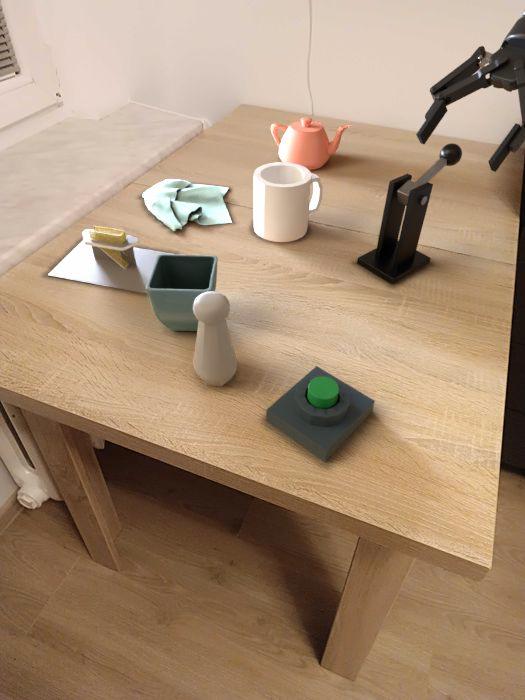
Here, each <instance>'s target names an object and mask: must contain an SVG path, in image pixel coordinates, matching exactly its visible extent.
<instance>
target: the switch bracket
mask: <svg viewBox="0 0 525 700" xmlns="http://www.w3.org/2000/svg"><path fill="white" fill-rule="evenodd" d="M412 179H413V175H412V174H410V173H405V174H403V175H400V176H398V177H396V178H393V179H391V180H389V181H388V187H387V191H386V197H385V202H384V208H383V214H382V218H381V223H380V229H379V234H378V239H377V243H376V248H375V249H372V250H370V251H368V252H366V253H364V254H362V255H360V256H358V257H357V259H356V264H357V265H358V266H360V267H362V268H363V269H365V270H367V271H369V272H370V273H371V274H373V275H375V276H377V277H379V278H380V279H381V280H384V281H385V282H387V283H389V285H394V284H396V283H398V282H400V281H402V280H403V279H405V278H406V277H408V276H410V275H412V274H413V273H416V272H417V271H418V270H420V269H422V268H424V267H426V266H428V265H429V264H430V263H431V260H432V258H431V257H430V256H428V255H427V254H424V253H422V252H421V251H420V250H417V249H418V245H419V242H420V237H421V233H422V229H423V226H424V222H425V219H426V214H427V211H428V207H429V202H430V199H431V196H432V190H433V187H434V184H433V183H431V182H430V181H429V182H427V183H425V184H423V185H421V186H419V187H416V188H414V189H412V190H410V193H409V198H408V202H407V206H405V205H403V204H401V203H399V202H398V196H397V190H398V189H399V188H401V187H402V186H403V185H404V184H405V183H406V182H407V181H408V180H411V181H412Z"/></svg>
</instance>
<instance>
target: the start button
mask: <svg viewBox="0 0 525 700" xmlns="http://www.w3.org/2000/svg"><path fill="white" fill-rule="evenodd" d="M338 393H339V386H338V384H337V383H336V382H335V381H334V380H333V379H331V378H328V377H316V378H314V379H313V380H311V381H310V383H309V385H308V394H307V397H308V400H309V402H310V403H311V404H312V405H313V406H315V407H317V408H322V409H325V408H330V407H332V406H334V405H335V404H336V402H337V399H338Z"/></svg>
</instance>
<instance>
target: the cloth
mask: <svg viewBox="0 0 525 700" xmlns="http://www.w3.org/2000/svg"><path fill="white" fill-rule="evenodd" d="M229 189H230V187H226V186H220V185H219V186H218V185H211V184H210V185H208V184H201V183H192V182H191V181H190V180H189V181H188V180H184V179H180V178H179V179H175V178H167V179H165V180H163V181H160V182H158V183H156V184H154V185H152V186H150V187H149V188H148V189H146V190H145V191H144V192H143V193H142V195H141V198H144V204H145V206H146V208H147V210H148V211H149V212H150V213H151V215H153V216H154V217H155V218H156V219H157V220H158V221H160V222H161V223H162V224H163V225H164V226H166V227H168V228H169V229H170V230H172V232H176V231H178V230H181V231H182V230H183V227H184V226H185V225H187V223H188V220H189V221H190V222H194V223H195V224H197V225H200V226H215V225H216V226H217V225H225V224H226V225H227V224H233V221H232V218H231V215H230V213H229V211H228V208H227V206H226V203H225V201H224V196H225V195H226V194H227V192H228V191H229Z"/></svg>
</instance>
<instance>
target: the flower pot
mask: <svg viewBox="0 0 525 700" xmlns="http://www.w3.org/2000/svg"><path fill="white" fill-rule="evenodd" d="M174 254H175V253H172V254H159V255H158V256H157V258H156V261H155V264H154V267H153V270H152V272H151V275H150V278H149V281H148V283H147V286H146V290H147V293H146V294H147V295H148V298H149V299H148V300H149V301H150V304H151V307H152V310H153V312H154V314H155V317H156V319H158V321H159V322H160V323H161V324H162V325H163V326H164V327H165V328H167V329H168V330H170V331H177V332H178V331H180V332H181V331H183V332H197V330H198V322H199V320H198V319H197V318H196V316H195V314H194V311H193V304H194V301H195V299H196V298H197V297H198V296H199V295H200V294H202V293H205V292H209V291H215V292H216V290H217V279H218V276H217V275H218V261H219V260H218V259H219V258H218V256H217V255H210V254H207V255H206V254H175V255H174Z"/></svg>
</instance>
